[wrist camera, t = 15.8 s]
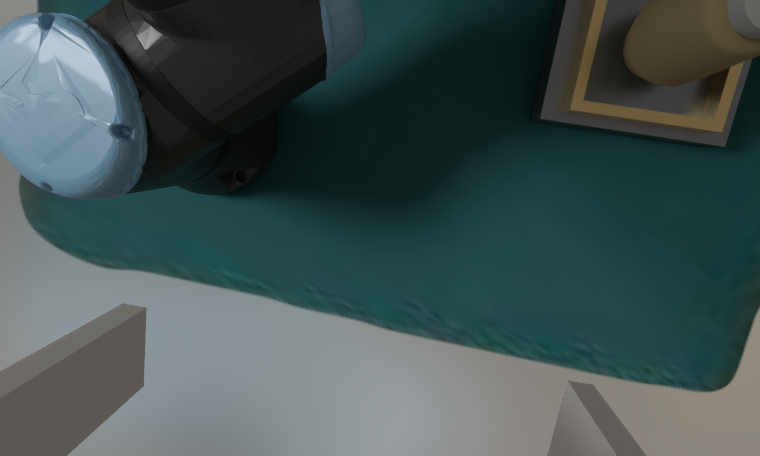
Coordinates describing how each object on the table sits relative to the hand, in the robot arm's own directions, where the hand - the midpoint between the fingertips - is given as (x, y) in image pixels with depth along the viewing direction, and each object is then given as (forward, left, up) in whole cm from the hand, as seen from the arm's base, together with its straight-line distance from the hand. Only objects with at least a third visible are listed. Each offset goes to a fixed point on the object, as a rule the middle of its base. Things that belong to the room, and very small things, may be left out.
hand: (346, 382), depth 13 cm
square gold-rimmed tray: (+22, +20, -37) cm, 47 cm away
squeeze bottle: (+22, +20, -33) cm, 44 cm away
